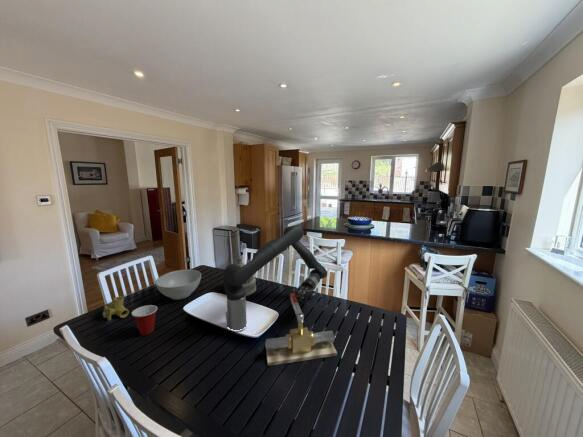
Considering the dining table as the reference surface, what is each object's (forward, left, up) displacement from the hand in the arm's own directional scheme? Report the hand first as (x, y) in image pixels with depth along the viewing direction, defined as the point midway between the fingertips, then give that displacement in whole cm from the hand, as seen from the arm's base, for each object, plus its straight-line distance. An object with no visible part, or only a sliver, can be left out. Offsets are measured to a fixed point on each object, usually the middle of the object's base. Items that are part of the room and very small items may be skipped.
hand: (297, 299), depth 116 cm
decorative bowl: (-78, +28, -16) cm, 84 cm away
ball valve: (-102, +3, -16) cm, 103 cm away
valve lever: (0, -7, -2) cm, 7 cm away
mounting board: (+2, -15, -16) cm, 22 cm away
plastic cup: (-75, -8, -16) cm, 77 cm away
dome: (-40, +37, -16) cm, 57 cm away
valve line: (+2, -15, -15) cm, 21 cm away
